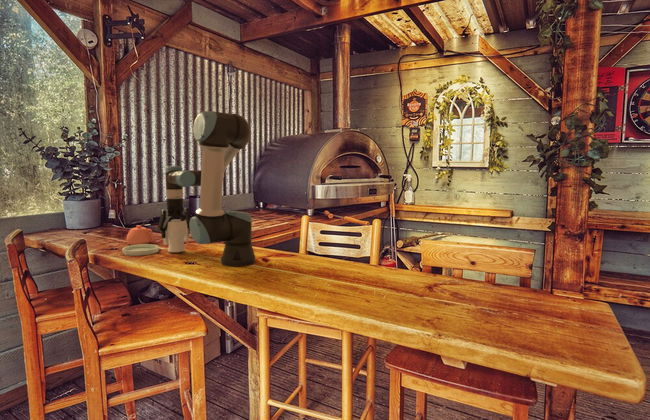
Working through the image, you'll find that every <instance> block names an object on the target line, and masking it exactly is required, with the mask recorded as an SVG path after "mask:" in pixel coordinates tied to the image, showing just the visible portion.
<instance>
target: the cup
mask: <svg viewBox="0 0 650 420" xmlns="http://www.w3.org/2000/svg"><path fill="white" fill-rule="evenodd" d="M186 221H187V220H185V221H181V220H180V218H179V219H178V218H177V219H175V218H174V219H172V220H171V221H170V222H168V227H167V229H166V231H167V233H168V249H167V252H169V253H181V252H185V250H186V248H185V241H184V237H185V235H186V232H187V222H186Z"/></svg>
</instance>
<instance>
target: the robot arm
mask: <svg viewBox="0 0 650 420" xmlns="http://www.w3.org/2000/svg"><path fill="white" fill-rule="evenodd" d="M248 122H249V121H247V119H246V118H245V117H244V116H242V115H239V114H237V113H229V112H220V111H212V110H211V111H210V110H208V111H207V110H206V111H205V110H204V111H201V112H199V113H198V114H197V116H196V117H195V119H194V122H193V127H192V128H193V129H192V133H193V137H194V139H195V140H196V141H197V142H198V146H199V147H200V148H201V150H202V151H201V170H199V169H198V170H188V169H185V170H183V167H182V166H181V165H180V166H179V165H174V166H173V165H167V166H166V167H165V173H164V174H165V175H164V176H165V191H166V209H160V218H159V220H158V224H157V228H156V229H157V231H160V232H161V233H160V234H161V238H162V239H163V241H162V242H163V243H162V244H163V245H166V246H169V241H168V233H167V231H166V229H167V227H168V222H170V221H171V220H173V218H179V219H180V220H181V221H185V220H186V222H187V232H186V235H185V237H184V242H190V240H189V235H191V237H192V239H193V241H194V242H195V243H197V244H198V245H210V244H216V243H223V242H224V248H223V251H222V256H221V258H220V263H221V265H223V266H227V267H244V266H245V265H247V266H250V264H251V265H253V263H254V264H255V263H256V261H257V260H256V259H257V258H256V255H255V252H254V249H253V246H252V244H253V243H252V241H253V239H252V238H253V237H252V234H253V233H252V231H253V230H252V224H253V221H252V214H251V213H249V212H247V211H246V212H245V211H238V210H225V211H224V210H223V209H222V202H223V201H222V200H223V183H224V171H225V170H226V169H227V167H228V166H229V165H230V164H231V162H232V161H233V159H234V158H235V157H236V156H237V154H238V152H240V150H243V149H245V148H246V146H247V145H248V143H249V142H250V140H251V135H252V130H251V127H250V124H249V123H248ZM190 187H200V192H199V193H200V195H199V196H200V197H199V207H198V208H197V209H196V210H195V216H192V217H191V214H190V209H189V207H184V199H183V197H184V191H183V190H184V189H183V188H190ZM183 213H184V214H183ZM245 267H246V266H245Z"/></svg>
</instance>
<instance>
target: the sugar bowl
mask: <svg viewBox="0 0 650 420" xmlns="http://www.w3.org/2000/svg"><path fill="white" fill-rule="evenodd" d="M135 226H136V227H132V228H130V230H129V231H128V233H127V235H126V238H125V242H126V243H127V244H128V245H129V246H131V245H138V244H151V243H150V242H153V241H154V239H155V238H154V237H153V232H154V231H153V230H152V229H151V228H146V227H143V226H142V225H140V224H139V225H138V224H137V225H135Z"/></svg>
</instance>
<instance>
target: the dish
mask: <svg viewBox="0 0 650 420" xmlns="http://www.w3.org/2000/svg"><path fill="white" fill-rule="evenodd" d="M121 249H122V250H121V251H122V252H121V253H122V255H125V256H130V257H133V256H134V257H135V256H136V257H137V256H138V257H140V256H147V255H149V256H150V255H153V254H156V253H158V252H159V251H160V247H159V245H158V244H155V243H154V244H152V243H148V244H138V245H127V246H124V247H122V248H121Z"/></svg>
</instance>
